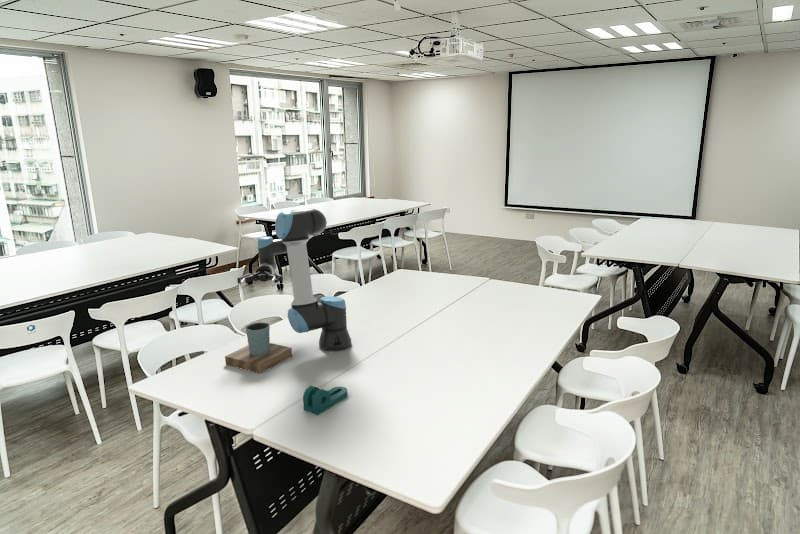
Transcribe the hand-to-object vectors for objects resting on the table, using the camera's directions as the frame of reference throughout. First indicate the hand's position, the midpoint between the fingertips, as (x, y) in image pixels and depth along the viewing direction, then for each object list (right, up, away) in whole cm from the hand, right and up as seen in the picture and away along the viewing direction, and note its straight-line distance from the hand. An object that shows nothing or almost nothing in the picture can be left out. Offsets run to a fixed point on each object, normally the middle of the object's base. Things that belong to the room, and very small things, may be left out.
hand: (257, 284), depth 225 cm
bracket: (+38, -42, -40) cm, 69 cm away
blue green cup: (+2, -30, -4) cm, 30 cm away
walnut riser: (+2, -34, -3) cm, 34 cm away
